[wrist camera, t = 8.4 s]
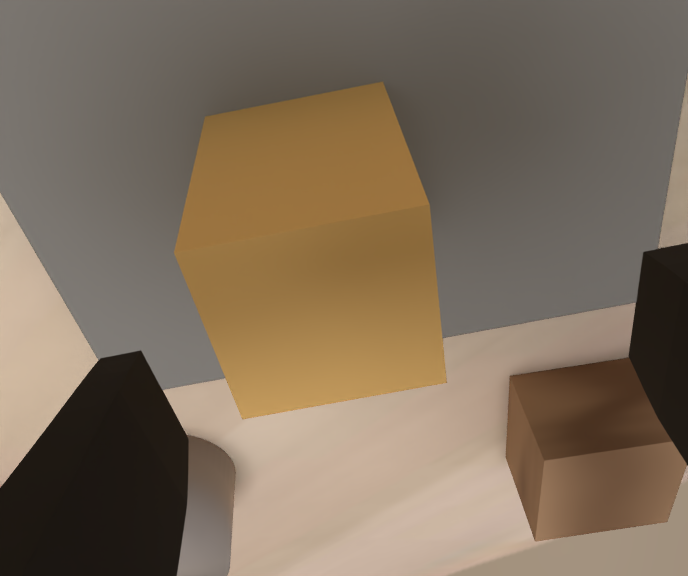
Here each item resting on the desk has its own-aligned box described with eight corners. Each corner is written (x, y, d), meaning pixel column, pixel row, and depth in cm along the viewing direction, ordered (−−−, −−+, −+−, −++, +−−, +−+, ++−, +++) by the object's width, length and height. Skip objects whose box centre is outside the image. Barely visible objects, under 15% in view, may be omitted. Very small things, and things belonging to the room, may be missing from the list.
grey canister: (203, 418, 24) (192, 513, 21) (254, 490, 27) (251, 582, 24) (84, 452, 24) (55, 549, 21) (147, 519, 27) (130, 612, 24)
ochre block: (382, 81, 15) (429, 204, 11) (402, 232, 18) (446, 382, 14) (205, 116, 16) (173, 252, 11) (251, 260, 18) (242, 419, 14)
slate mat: (719, -249, 13) (742, -251, 12) (637, 285, 21) (648, 300, 21) (-127, -65, 13) (-147, -59, 13) (125, 380, 22) (120, 397, 21)
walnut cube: (640, 353, 24) (696, 437, 20) (621, 437, 27) (667, 522, 24) (508, 373, 24) (544, 460, 21) (505, 454, 27) (535, 541, 24)
